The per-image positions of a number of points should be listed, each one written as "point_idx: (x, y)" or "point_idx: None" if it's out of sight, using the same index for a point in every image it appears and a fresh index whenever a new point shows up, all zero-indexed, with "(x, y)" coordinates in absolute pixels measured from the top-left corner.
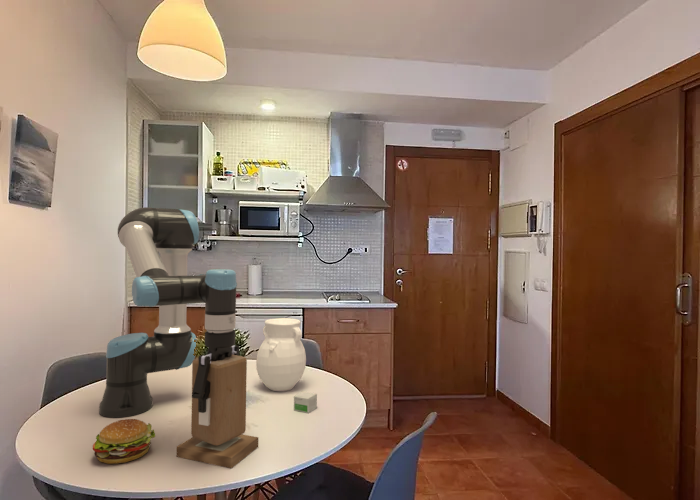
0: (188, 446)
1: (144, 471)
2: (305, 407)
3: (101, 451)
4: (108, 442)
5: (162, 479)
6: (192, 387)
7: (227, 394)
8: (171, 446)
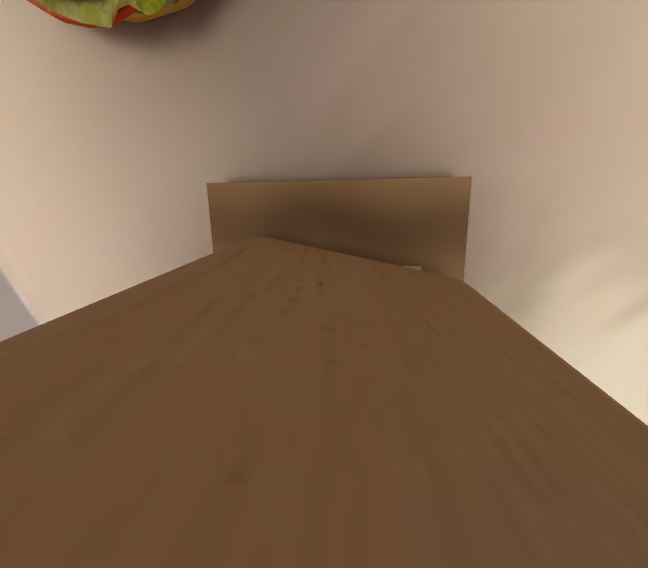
0: (234, 240)
1: (74, 152)
2: None
3: None
4: None
5: (74, 267)
6: None
7: None
8: (297, 74)
